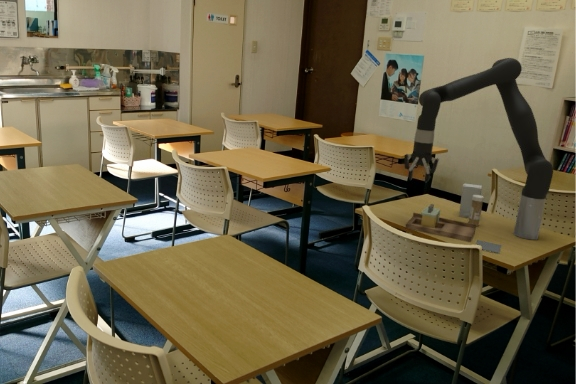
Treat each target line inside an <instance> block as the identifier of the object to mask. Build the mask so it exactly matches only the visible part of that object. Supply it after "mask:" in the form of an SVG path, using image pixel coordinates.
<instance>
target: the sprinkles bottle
mask: <svg viewBox="0 0 576 384" xmlns="http://www.w3.org/2000/svg"><path fill="white" fill-rule="evenodd" d="M484 200H485V199H484V196H483V195H481V196H480V195H473V197H472V205H471V210H470V216H469V218H468V223H470V224H475V225H476V227H479V226H480V225H479V224H480V219H481V214H482V207H483V203H484Z"/></svg>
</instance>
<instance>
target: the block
mask: <svg viewBox="0 0 576 384" xmlns="http://www.w3.org/2000/svg"><path fill="white" fill-rule="evenodd" d="M436 218H437V216H436V217H431V216H426V215H422V221H421V225H422V226H427V227H432V228H435V225H436Z"/></svg>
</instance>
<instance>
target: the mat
mask: <svg viewBox="0 0 576 384" xmlns="http://www.w3.org/2000/svg"><path fill="white" fill-rule="evenodd" d="M475 244H477V245H481V246H482V249H483V250H482V251H484V250H486V251H485V252H488V251H491V252H490V253H493V252H495V253H494V254H498V253H499V254H500V252H501V249H500V248H502V244H498V243H494V242H489V241H484V240H480V239H479V240H478V239H477V240H476V242H475Z"/></svg>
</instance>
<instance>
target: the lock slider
mask: <svg viewBox="0 0 576 384" xmlns="http://www.w3.org/2000/svg"><path fill="white" fill-rule="evenodd" d="M434 206H435V204H433V203H431V204H430V205H428V206H425V207H424V208H423V210H422V211H420V214H421V215H426V216H431V217H436V216H437V218H436V222H438V221H439V218H440V215H441V209H440V208H436V207H434Z"/></svg>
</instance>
